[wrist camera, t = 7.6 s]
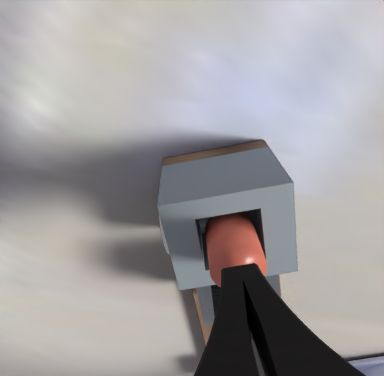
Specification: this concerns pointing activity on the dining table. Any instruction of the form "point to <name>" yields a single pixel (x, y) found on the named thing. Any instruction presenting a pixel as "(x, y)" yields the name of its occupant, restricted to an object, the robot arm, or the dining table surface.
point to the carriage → (209, 303)
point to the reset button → (232, 244)
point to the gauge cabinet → (226, 210)
